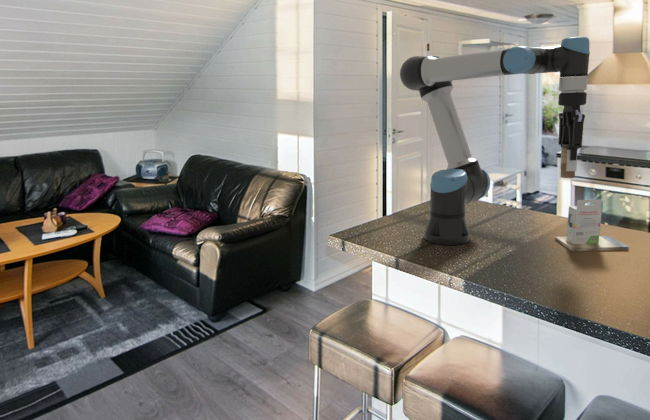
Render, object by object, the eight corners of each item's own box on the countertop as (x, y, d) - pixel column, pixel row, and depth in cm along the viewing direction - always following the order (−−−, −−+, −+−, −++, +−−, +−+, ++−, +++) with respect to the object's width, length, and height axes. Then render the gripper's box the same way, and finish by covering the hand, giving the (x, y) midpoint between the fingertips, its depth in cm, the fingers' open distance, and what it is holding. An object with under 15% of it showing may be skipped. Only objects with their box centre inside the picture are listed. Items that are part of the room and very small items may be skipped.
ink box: (590, 239, 171) (595, 195, 167) (598, 244, 166) (604, 199, 162) (564, 240, 170) (569, 196, 167) (572, 244, 166) (576, 199, 162)
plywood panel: (570, 250, 163) (571, 247, 163) (554, 239, 175) (555, 236, 174) (628, 250, 163) (628, 246, 162) (608, 238, 174) (609, 235, 174)
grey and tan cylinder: (563, 178, 157) (565, 145, 155) (558, 176, 161) (560, 144, 159) (576, 177, 157) (578, 144, 155) (571, 175, 161) (573, 143, 159)
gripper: (598, 91, 145) (593, 173, 150) (574, 91, 161) (569, 165, 167) (571, 92, 145) (566, 174, 151) (549, 92, 162) (545, 166, 167)
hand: (568, 169), depth 159 cm, fingers closed on grey and tan cylinder, 4 cm apart
